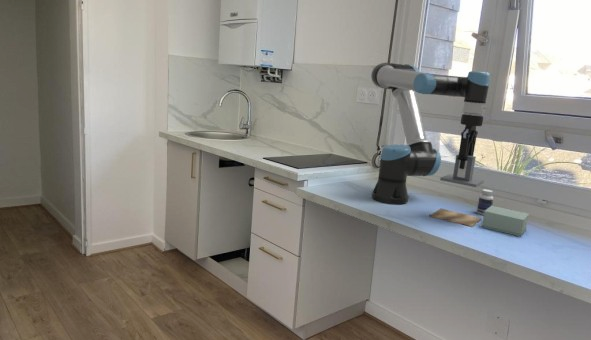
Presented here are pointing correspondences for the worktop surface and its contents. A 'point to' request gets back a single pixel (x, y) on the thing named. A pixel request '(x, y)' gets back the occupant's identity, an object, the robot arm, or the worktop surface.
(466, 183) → the lid
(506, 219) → the sage green block
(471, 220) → the plate
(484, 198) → the pill bottle
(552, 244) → the worktop surface
